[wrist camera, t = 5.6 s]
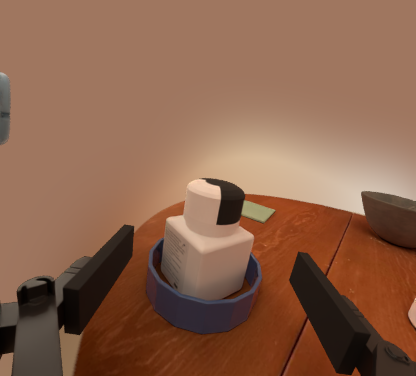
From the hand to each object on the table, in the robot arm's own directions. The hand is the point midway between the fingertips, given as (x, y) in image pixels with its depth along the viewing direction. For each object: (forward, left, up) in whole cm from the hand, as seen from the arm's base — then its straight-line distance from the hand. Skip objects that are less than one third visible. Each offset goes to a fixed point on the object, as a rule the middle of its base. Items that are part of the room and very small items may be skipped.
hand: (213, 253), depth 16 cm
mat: (-9, +37, -9) cm, 39 cm away
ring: (-4, +6, -9) cm, 12 cm away
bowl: (+24, +50, -9) cm, 57 cm away
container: (-4, +6, -9) cm, 12 cm away
